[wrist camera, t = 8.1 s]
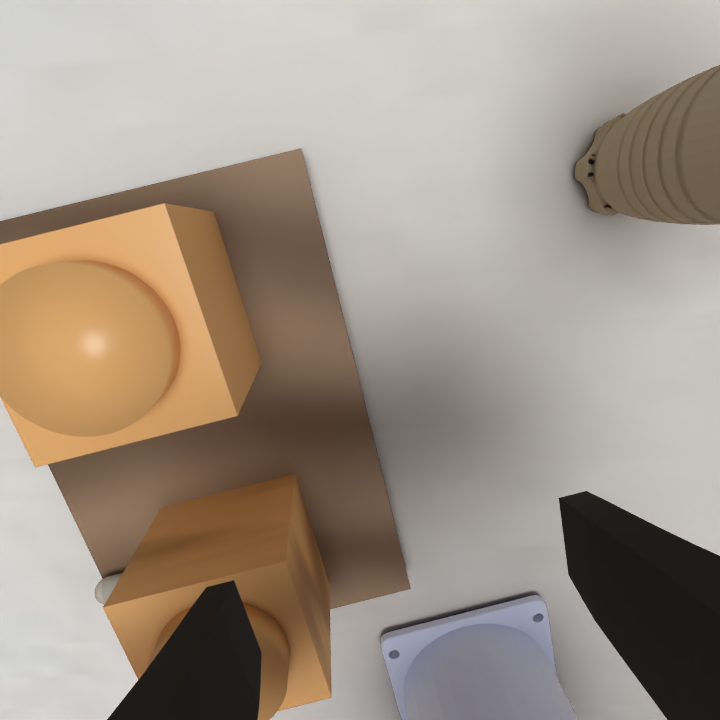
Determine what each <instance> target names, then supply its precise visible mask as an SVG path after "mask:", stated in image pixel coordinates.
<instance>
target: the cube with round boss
mask: <svg viewBox="0 0 720 720" xmlns="http://www.w3.org/2000/svg"><path fill="white" fill-rule="evenodd" d="M261 363H262V362H261V359H260V356H259V353H258V350H257V347H256V343H255V340H254V337H253V334H252V331H251V328H250V325H249V321H248V318H247V315H246V312H245V309H244V306H243V302H242V299H241V296H240V293H239V290H238V287H237V283H236V280H235V277H234V274H233V271H232V268H231V264H230V261H229V258H228V255H227V252H226V249H225V245H224V242H223V239H222V236H221V233H220V230H219V226H218V223H217V220H216V217H215V214H214V212H213V211H207V210H202V209H196V208H190V207H184V206H178V205H172V204H166V203H164V204H160V205H156V206H152V207H148V208H144V209H140V210H136V211H132V212H128V213H124V214H120V215H116V216H112V217H108V218H104V219H100V220H96V221H92V222H88V223H84V224H80V225H76V226H72V227H68V228H64V229H60V230H56V231H52V232H48V233H44V234H40V235H36V236H32V237H28V238H24V239H20V240H16V241H12V242H8V243H4V244H0V397H1V399H2V402H3V404H4V406H5V408H6V410H7V412H8V414H9V416H10V418H11V420H12V422H13V424H14V426H15V428H16V430H17V432H18V434H19V436H20V438H21V440H22V442H23V444H24V446H25V448H26V450H27V452H28V454H29V456H30V458H31V460H32V462H33V464H34V466H35V467H39V466H43V465H47V464H51V463H55V462H59V461H63V460H67V459H70V458H74V457H78V456H82V455H86V454H90V453H94V452H98V451H102V450H106V449H110V448H114V447H118V446H121V445H125V444H129V443H133V442H137V441H141V440H145V439H149V438H153V437H157V436H161V435H165V434H168V433H172V432H176V431H180V430H184V429H188V428H192V427H196V426H200V425H204V424H208V423H212V422H216V421H219V420H223V419H227V418H231V417H235V416H238V414H239V412H240V409H241V407H242V405H243V403H244V401H245V398H246V396H247V394H248V392H249V390H250V387H251V385H252V383H253V381H254V379H255V376H256V374H257V372H258V370H259V368H260V366H261Z"/></svg>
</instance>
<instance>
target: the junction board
mask: <svg viewBox="0 0 720 720" xmlns="http://www.w3.org/2000/svg"><path fill="white" fill-rule="evenodd" d="M164 203H166V204H172V205H178V206H184V207H190V208H196V209H202V210H207V211H213V212H214V214H215V217H216V220H217V223H218V226H219V230H220V233H221V236H222V239H223V242H224V245H225V249H226V252H227V255H228V258H229V261H230V264H231V268H232V271H233V274H234V277H235V280H236V283H237V287H238V290H239V293H240V296H241V299H242V302H243V306H244V309H245V312H246V315H247V318H248V321H249V325H250V328H251V331H252V334H253V337H254V340H255V343H256V347H257V350H258V353H259V356H260V359H261V362H262V363H261V366H260V368H259V370H258V372H257V374H256V376H255V379H254V381H253V383H252V385H251V387H250V390H249V392H248V394H247V396H246V398H245V401H244V403H243V405H242V407H241V409H240V412H239V414H238V416H235V417H231V418H227V419H223V420H219V421H216V422H212V423H208V424H204V425H200V426H196V427H192V428H188V429H184V430H180V431H176V432H172V433H168V434H165V435H161V436H157V437H153V438H149V439H145V440H141V441H137V442H133V443H129V444H125V445H121V446H118V447H114V448H110V449H106V450H102V451H98V452H94V453H90V454H86V455H82V456H78V457H74V458H70V459H67V460H63V461H59V462H55V463H51V464H48V465H49V467H50V470H51V472H52V474H53V476H54V478H55V480H56V482H57V484H58V486H59V488H60V490H61V492H62V495H63V497H64V499H65V501H66V503H67V505H68V507H69V509H70V511H71V513H72V515H73V518H74V520H75V522H76V524H77V526H78V528H79V530H80V532H81V534H82V536H83V538H84V540H85V543H86V545H87V547H88V549H89V551H90V553H91V555H92V557H93V559H94V561H95V563H96V565H97V568H98V570H99V572H100V574H101V576H102V578H103V579H102V580H101V581H100V582H99V583H98V584H97V586H96V588H95V598H96V599H97V601H98V602H100V603H102V604H105V605H104V606H103V609H104V611H105V613H106V615H107V617H108V619H109V621H110V623H111V625H112V627H113V629H114V631H115V633H116V635H117V637H118V639H119V641H120V643H121V645H122V647H123V649H124V651H125V653H126V655H127V657H128V660H129V662H130V664H131V666H132V668H133V670H134V672H135V674H136V676H137V678H138V680H139V679H140V677H141V676H142V675H143V673H144V672H145V671H146V669H147V668H148V667H149V665H150V664H151V662H152V661H153V660H154V658H155V657H156V656H157V654H158V653H159V652H160V650H161V649H162V648H163V646H164V645H165V643H166V642H167V641H168V639H169V638H170V637H171V635H172V634H173V632H174V631H175V630H176V628H177V627H178V625H179V624H180V623H181V621H182V620H183V618H184V617H185V616H186V614H187V613H188V611H189V610H190V609H191V607H192V606H193V604H194V603H195V602H196V600H197V599H198V598H199V596H200V595H201V594H202V592H203V591H204V590H205V588H206V587H209V586H213V585H217V584H221V583H225V582H229V581H233V580H234V581H235V584H236V587H237V589H238V592H239V594H240V597H241V600H242V602H243V605H244V608H245V610H246V613H247V616H248V618H249V621H250V623H251V626H252V629H253V631H254V634H255V637H256V639H257V642H258V644H259V647H260V650H261V652H262V658H261V685H260V703H259V712H258V719H257V720H269V719H270V718H271V717H273V716H274V715H275V713H276V712H277V711H281V710H284V709H288V708H292V707H296V706H300V705H304V704H308V703H312V702H316V701H320V700H324V699H327V698H331V647H330V609H333V608H337V607H341V606H344V605H348V604H352V603H356V602H360V601H364V600H368V599H372V598H376V597H380V596H384V595H388V594H392V593H396V592H400V591H404V590H407V589H411V588H410V584H409V580H408V576H407V572H406V568H405V564H404V560H403V556H402V552H401V548H400V544H399V540H398V536H397V532H396V528H395V524H394V520H393V516H392V512H391V508H390V504H389V500H388V496H387V491H386V487H385V483H384V479H383V475H382V471H381V467H380V463H379V459H378V455H377V451H376V447H375V443H374V439H373V435H372V431H371V427H370V423H369V419H368V415H367V411H366V407H365V403H364V399H363V395H362V391H361V387H360V383H359V379H358V375H357V371H356V367H355V363H354V359H353V355H352V351H351V347H350V343H349V339H348V335H347V331H346V327H345V323H344V318H343V314H342V310H341V306H340V302H339V298H338V294H337V290H336V286H335V282H334V278H333V274H332V270H331V266H330V262H329V258H328V254H327V250H326V246H325V242H324V238H323V234H322V230H321V226H320V222H319V218H318V214H317V210H316V206H315V202H314V198H313V194H312V190H311V186H310V182H309V178H308V174H307V170H306V166H305V162H304V158H303V154H302V150H301V149H297V150H293V151H288V152H284V153H280V154H276V155H272V156H268V157H264V158H260V159H255V160H251V161H247V162H243V163H239V164H235V165H231V166H227V167H222V168H218V169H214V170H210V171H206V172H202V173H198V174H194V175H189V176H185V177H181V178H177V179H173V180H169V181H165V182H161V183H156V184H152V185H148V186H144V187H140V188H136V189H132V190H128V191H123V192H119V193H115V194H111V195H107V196H103V197H99V198H95V199H90V200H86V201H82V202H78V203H74V204H70V205H66V206H62V207H57V208H53V209H49V210H45V211H41V212H37V213H33V214H29V215H24V216H20V217H16V218H12V219H8V220H4V221H0V244H4V243H8V242H12V241H16V240H20V239H24V238H28V237H32V236H36V235H40V234H44V233H48V232H52V231H56V230H60V229H64V228H68V227H72V226H76V225H80V224H84V223H88V222H92V221H96V220H100V219H104V218H108V217H112V216H116V215H120V214H124V213H128V212H132V211H136V210H140V209H144V208H148V207H152V206H156V205H160V204H164Z"/></svg>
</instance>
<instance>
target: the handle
mask: <svg viewBox="0 0 720 720" xmlns="http://www.w3.org/2000/svg"><path fill="white" fill-rule="evenodd" d="M575 178H576V180H577V181H579V182H581V184H582V185H583V186H584V188H585V190H586V192H587V195H588V199H589V204H588V205H589V207H590V208H591V209H592V210H594V211H596V212H598V213H602V214H606V215H615V214H616V213H622V214H625V215H628V216H632V217H636V218H640V219H645V220H651V221H657V222H667V223H679V224H701V225H710V224H720V65H719V66H716V67H714V68H711V69H709V70H706V71H704V72H702V73H700V74H697V75H695V76H693V77H691V78H689V79H687V80H685V81H683V82H681V83H679V84H677V85H676V86H673V87H671V88H669V89H667V90H666V91H664V92H662V93H660V94H658V95H656V96H654V97H653V98H651V99H649V100H648V101H646V102H644V103H643V104H641V105H640V106H638V107H637V108H635V109H634V110H632V111H631V112H630V113H628V114H627V115H626V114H622V115H620V116H618V117H616V118H614V119H612V120H610V121H609V122H607V123H606V124H604V125H603V126H602V127H600V128H599V129H598V130H597V131H596V133H595V139H594V141H593V144H592V146H591V148H590V149H589V151H588V152H587V153H586V155H585V156H584V157H583V158H581V159H579V160H578V161H577V163H576V166H575Z"/></svg>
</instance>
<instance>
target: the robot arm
mask: <svg viewBox="0 0 720 720" xmlns="http://www.w3.org/2000/svg"><path fill="white" fill-rule="evenodd" d="M559 503H560V510H561V518H562V526H563V534H564V542H565V550H566V558H567V566H568V574H569V576H570V578H571V580H572V581H573V583H574V585H575V587H576V589H577V590H578V592H579V594H580V596H581V597H582V599H583V601H584V603H585V604H586V606H587V608H588V609H589V611H590V613H591V614H592V616H593V618H594V620H595V621H596V623H597V624H598V625H599V627H600V628H601V630H602V631H603V632H604V634H605V635H606V636H607V638H608V639H609V641H610V642H611V643H612V645H613V646H614V647H615V649H616V650H617V652H618V653H619V654H620V656H621V657H622V658H623V660H624V661H625V663H626V664H627V665H628V667H629V668H630V669H631V671H632V672H633V673H634V675H635V676H636V677H637V679H638V680H639V681H640V683H641V684H642V686H643V687H644V688H645V690H646V691H647V692H648V694H649V695H650V696H651V698H652V699H653V700H654V702H655V703H656V705H657V706H658V707H659V709H660V710H661V711H662V713H663V714H664V715H665V717H666V718H667V719H668V720H720V556H719V555H716V554H714V553H712V552H710V551H708V550H705V549H703V548H701V547H699V546H697V545H694V544H692V543H690V542H688V541H686V540H684V539H682V538H680V537H678V536H676V535H673V534H671V533H669V532H667V531H665V530H663V529H661V528H659V527H657V526H655V525H653V524H651V523H649V522H647V521H645V520H643V519H641V518H639V517H637V516H635V515H633V514H631V513H629V512H627V511H625V510H623V509H621V508H619V507H617V506H615V505H614V504H612V503H610V502H608V501H606V500H604V499H602V498H600V497H598V496H595V495H593V494H591V493H589V492H587V491H585V492H581V493H577V494H573V495H569V496H565V497H561V498H559ZM537 613H538V614H537ZM535 614H537V615H535ZM534 615H535V616H534ZM381 649H382V652H383V656H384V659H385V663H386V666H387V670H388V673H389V677H390V680H391V684H392V688H393V691H394V695H395V698H396V702H397V705H398V709H399V712H400V716H401V719H402V720H578V718H577V716H576V714H575V712H574V710H573V708H572V706H571V704H570V702H569V700H568V699H567V697H566V695H565V693H564V691H563V689H562V687H561V685H560V683H559V681H558V679H557V673H556V666H555V660H554V653H553V646H552V639H551V632H550V626H549V619H548V612H547V606H546V603H545V602H544V600H543V598H542V597H540V596H538V595H533V596H528V597H524V598H520V599H516V600H513V601H509V602H505V603H501V604H497V605H493V606H489V607H485V608H481V609H477V610H473V611H469V612H465V613H462V614H458V615H454V616H450V617H446V618H442V619H438V620H434V621H430V622H426V623H422V624H418V625H414V626H411V627H407V628H403V629H399V630H395V631H391V632H388V633H385V634H384V635H383V636H382V637H381ZM393 650H396V651H394V652H391V651H393ZM261 658H262V652H261V650H260V647H259V644H258V642H257V639H256V637H255V634H254V631H253V629H252V626H251V623H250V621H249V618H248V616H247V613H246V610H245V608H244V605H243V602H242V600H241V597H240V594H239V592H238V589H237V587H236V584H235V581H234V580H233V581H229V582H225V583H221V584H217V585H213V586H209V587H206V588H205V590H204V591H203V592H202V594H201V595H200V596H199V598H198V599H197V600H196V602H195V603H194V604H193V606H192V607H191V609H190V610H189V611H188V613H187V614H186V616H185V617H184V618H183V620H182V621H181V623H180V624H179V625H178V627H177V628H176V630H175V631H174V632H173V634H172V635H171V637H170V638H169V639H168V641H167V642H166V643H165V645H164V646H163V648H162V649H161V650H160V652H159V653H158V654H157V656H156V657H155V658H154V660H153V661H152V662H151V664H150V665H149V667H148V668H147V669H146V671H145V672H144V673H143V675H142V676H141V677H140V679H139V680H138V681H137V683H136V684H135V685H134V686H133V688H132V689H131V690H130V692H129V693H128V694H127V695H126V697H125V698H124V699H123V700H122V702H121V703H120V704H119V705H118V707H117V708H116V709H115V710H114V712H113V713H112V714H111V716H110V717H109V718H108V719H107V720H257V719H258V712H259V703H260V685H261Z"/></svg>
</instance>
